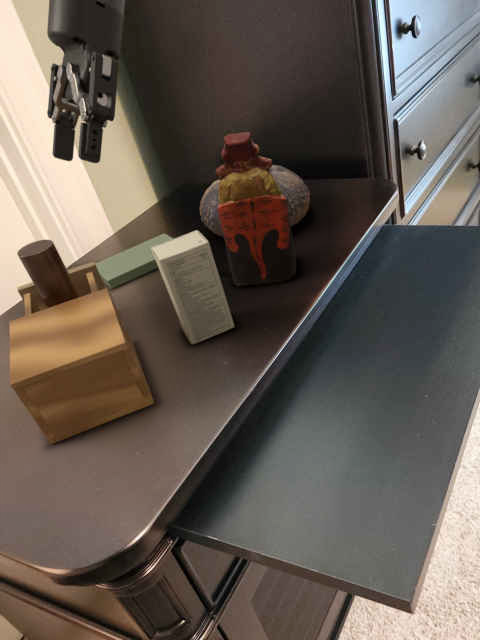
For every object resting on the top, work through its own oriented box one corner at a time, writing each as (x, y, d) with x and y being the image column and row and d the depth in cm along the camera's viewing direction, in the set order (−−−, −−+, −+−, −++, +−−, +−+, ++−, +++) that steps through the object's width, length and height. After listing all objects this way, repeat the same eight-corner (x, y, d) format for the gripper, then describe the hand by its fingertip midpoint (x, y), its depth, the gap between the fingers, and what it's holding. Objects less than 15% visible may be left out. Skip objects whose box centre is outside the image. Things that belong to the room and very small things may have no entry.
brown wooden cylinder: (58, 341, 68) (10, 257, 60) (73, 322, 71) (29, 240, 64) (86, 340, 67) (41, 255, 60) (100, 321, 70) (59, 238, 63)
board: (111, 289, 82) (107, 280, 81) (93, 274, 87) (89, 265, 86) (188, 253, 87) (185, 245, 86) (167, 241, 92) (164, 233, 91)
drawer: (40, 315, 77) (16, 274, 72) (109, 291, 79) (90, 250, 75) (46, 375, 65) (18, 330, 60) (128, 345, 67) (106, 300, 62)
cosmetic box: (224, 313, 71) (199, 228, 63) (236, 328, 68) (210, 240, 60) (181, 330, 69) (149, 245, 61) (190, 346, 66) (158, 259, 58)
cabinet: (44, 377, 66) (9, 321, 61) (133, 344, 69) (107, 287, 63) (51, 444, 56) (9, 384, 51) (154, 403, 59) (125, 342, 53)
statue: (302, 256, 80) (277, 112, 66) (298, 283, 74) (270, 131, 60) (225, 265, 81) (187, 126, 68) (216, 291, 76) (171, 146, 62)
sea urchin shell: (237, 196, 101) (233, 141, 94) (326, 217, 95) (329, 160, 88) (182, 239, 89) (172, 180, 82) (280, 266, 84) (279, 205, 76)
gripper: (30, -2, 59) (22, 151, 64) (76, -30, 50) (63, 152, 54) (96, 28, 65) (84, 167, 69) (149, 7, 55) (131, 171, 59)
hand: (75, 160), depth 61 cm, fingers open, 8 cm apart
